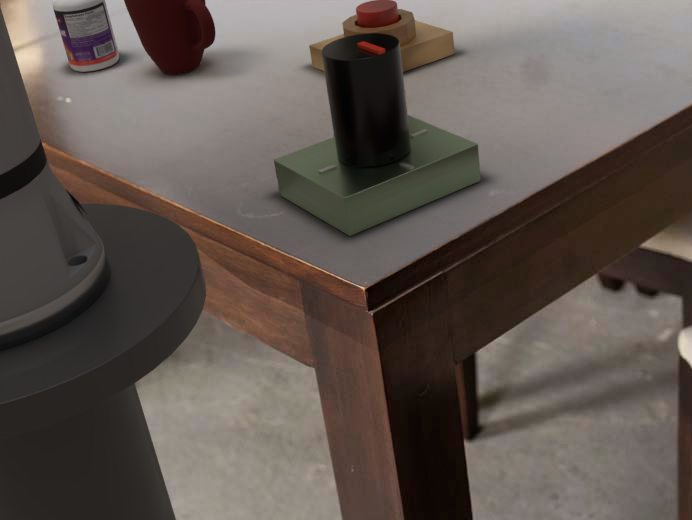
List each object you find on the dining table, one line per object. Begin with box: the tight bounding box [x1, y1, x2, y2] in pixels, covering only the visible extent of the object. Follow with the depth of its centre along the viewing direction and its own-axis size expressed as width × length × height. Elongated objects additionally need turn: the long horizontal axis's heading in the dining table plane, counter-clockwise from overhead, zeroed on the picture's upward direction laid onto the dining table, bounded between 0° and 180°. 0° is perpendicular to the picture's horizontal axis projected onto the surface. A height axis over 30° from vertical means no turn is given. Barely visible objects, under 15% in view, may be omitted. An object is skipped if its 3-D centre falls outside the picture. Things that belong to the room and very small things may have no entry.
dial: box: [322, 33, 411, 167], centre depth 81 cm, size 6×6×8 cm
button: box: [355, 0, 399, 28], centre depth 106 cm, size 4×4×2 cm
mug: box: [123, 0, 216, 76], centre depth 111 cm, size 10×8×10 cm
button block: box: [308, 8, 456, 73], centre depth 108 cm, size 11×9×4 cm
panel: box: [273, 114, 482, 237], centre depth 84 cm, size 12×10×3 cm
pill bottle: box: [51, 0, 120, 73], centre depth 116 cm, size 5×5×10 cm
